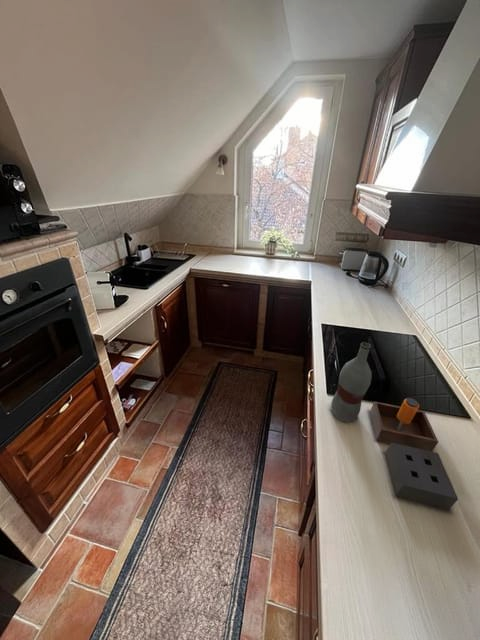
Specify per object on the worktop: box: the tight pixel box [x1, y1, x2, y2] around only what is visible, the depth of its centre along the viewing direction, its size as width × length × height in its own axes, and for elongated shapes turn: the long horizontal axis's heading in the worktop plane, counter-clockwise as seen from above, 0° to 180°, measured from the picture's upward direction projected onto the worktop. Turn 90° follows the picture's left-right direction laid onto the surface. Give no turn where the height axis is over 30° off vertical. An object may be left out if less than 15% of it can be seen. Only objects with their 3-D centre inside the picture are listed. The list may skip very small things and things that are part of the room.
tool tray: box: [369, 401, 439, 452], centre depth 83 cm, size 16×12×6 cm
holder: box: [384, 443, 459, 511], centre depth 69 cm, size 12×12×6 cm
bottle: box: [330, 341, 373, 423], centre depth 83 cm, size 9×9×30 cm
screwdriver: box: [397, 397, 420, 431], centre depth 80 cm, size 4×4×13 cm
